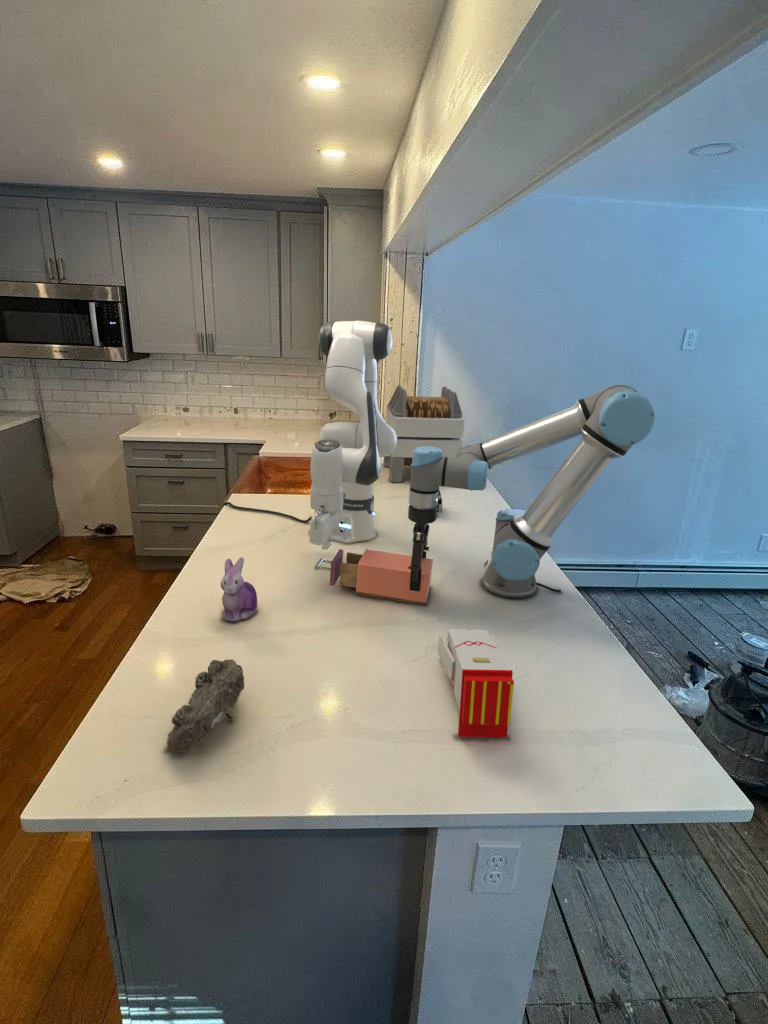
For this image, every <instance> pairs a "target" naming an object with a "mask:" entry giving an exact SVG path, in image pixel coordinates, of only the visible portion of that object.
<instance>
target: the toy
mask: <svg viewBox="0 0 768 1024" xmlns="http://www.w3.org/2000/svg"><path fill="white" fill-rule="evenodd" d="M446 640H447V643H446V641H445V639H444V636H443V635H442V634H439V637H438V646H437V656H438V657H439V659H440V661H441V663H442V666H443V668H444V670H445V672H446V674H447V677H448V679H449V681H450V684H451V687H452V690H453V693H454V697H455V701H456V705H457V708H458V711H459V714H458V715H459V716H458V730H457V731H458V732H457V737H458V738H508V731H509V726H510V725H511V717H512V707H513V697H514V696H513V695H514V684H515V680H514V679H513V673H514V671H513V670H512V669H508V667H507V665H506V662H505V661H504V659H503V658H502V655H501V653H500V651H499V649H498V647H497V643H496V639H495V637H494V635H493V634H491V632H490V631H489V629H467V628H466V629H465V628H463V629H461V628H460V629H459V628H448V630H447V639H446Z"/></svg>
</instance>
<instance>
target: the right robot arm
mask: <svg viewBox="0 0 768 1024" xmlns="http://www.w3.org/2000/svg"><path fill="white" fill-rule="evenodd" d="M655 418H656V416H655V410H654V407H653V405H652V403H651V401H650V400H649V398H648V397H647V396H646V395H644V394H643V393H642V392H640V391H638V390H636V389H635V388H633V387H631V386H629V385H626V384H625V385H624V384H615V385H611V386H607V387H606V388H603V389H600V390H598V391H597V392H594V393H592V394H590V395H588V396H585V397H583V398H581V399H578V400H576V401H575V403H574V405H573V406H571V407H569V408H566V409H563V410H561V411H558V412H556V413H553V414H550V415H548V416H545V417H542V418H540V419H538V420H535V421H532V422H530V423H528V424H525V425H523V426H520V427H518V428H515V429H512V430H510V431H507V432H504V433H501V434H500V435H497V436H495V437H492V438H489V439H487V440H485V441H482V442H480V443H476V444H474V445H473V444H470V445H469V444H468V445H465V446H462V449H461V450H460V451H459V452H458V453H457V455H456V458H448V457H443V455H442V450H441V449H439V448H437V447H432V446H420V447H417V448H416V449H415V450H414V451H413V458H412V464H411V466H410V483H409V484H410V486H409V495H408V504H409V505H408V513H407V518H408V520H409V521H411V522H413V523H414V526H413V528H412V533H413V534H412V535H413V536H412V542H413V543H412V552H411V556H412V560H411V566H409V567H408V569H411V577H410V590H412V591H419V592H420V583H421V570H422V568H421V563H422V558H427V551H428V552H429V551H430V547H429V546H428V544H429V543H428V539H429V538H428V537H429V532H430V524H433V523H435V522H436V521H437V518H438V517H437V513H438V512H437V507H436V506H437V504H438V499H439V498H442V495H441V496H440V495H438V491H440V487H443V488H452V489H460V490H468V491H484V490H485V489H486V487H487V483H488V475H489V470H490V469H493V468H497V467H498V466H501V465H503V464H507V463H509V462H512V461H515V460H517V459H520V458H523V457H526V456H528V455H531V454H533V453H536V452H539V451H542V450H544V449H547V448H550V447H552V446H555V445H558V444H561V443H564V442H566V441H569V440H571V439H574V438H577V437H581V439H580V440H579V441H578V443H577V444H576V445H575V447H574V448H573V449H572V450H571V452H570V453H569V454H568V456H567V457H566V459H565V460H564V461H563V462H562V463H561V465H560V467H559V468H558V469H557V470H556V471H555V472H554V474H553V475H552V477H551V478H550V480H549V481H548V482H547V483H546V485H545V486H544V487H543V488H542V490H541V491H540V492H539V494H538V495H537V496H536V498H535V499H534V500H533V502H532V503H531V505H529V507H528V508H527V509H526V510H523V509H514V508H506V509H500V510H499V511H498V512H497V514H496V518H495V527H494V536H493V545H492V551H491V553H490V554H491V555H490V557H491V560H490V562H489V559H487V560H486V561H485V562H484V564H483V568H485V567H486V566H487V567H486V570H485V572H484V574H483V575H482V576H483V577H482V585H483V587H484V588H485V589H486V591H488V592H489V593H492V594H494V595H496V596H499V597H502V598H508V599H525V598H529V597H531V596H533V595H534V594H535V593H536V592H537V587H541V588H544V589H546V590H548V591H551V592H553V593H554V592H555V593H562V589H557V588H553V587H550V586H548V585H545V584H543V583H539V582H537V578H536V573H537V572H538V570H539V568H540V564H541V559H542V558H543V557H544V555H545V554H546V553H547V552H548V550H549V549H550V548H551V547H552V545H553V540H552V535H553V534H554V533H555V532H556V531H557V529H559V527H560V525H561V524H562V523H563V522H564V520H565V519H566V518H567V517H568V516H569V514H570V513H571V512H572V511H573V509H574V508H575V507H576V505H577V504H578V503H579V502H580V501H581V500H582V498H583V497H584V495H585V494H586V493H587V492H588V491H589V489H590V488H591V487H592V486H593V485H594V483H596V481H597V480H598V478H599V477H600V475H601V474H602V473H603V472H604V471H605V469H606V468H607V467H608V466H609V464H611V462H612V461H613V460H615V459H620V458H623V457H625V455H626V454H627V453H628V452H629V450H630V449H631V448H632V447H633V446H634V445H637V444H639V443H641V442H642V441H644V440H645V439H646V438H647V437H648V436H649V434H650V433H651V432H652V429H653V428H654V424H655V420H656V419H655Z"/></svg>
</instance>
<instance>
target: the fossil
mask: <svg viewBox="0 0 768 1024" xmlns="http://www.w3.org/2000/svg"><path fill="white" fill-rule="evenodd" d="M243 670H244V669H243V667H242V665H240V664H237V662H236V661H235V660H234V659H232V658H231V659H227V658H226V659H224V660H223V661H222V660H217V659H212V660H211V661H210V663H209V665H208V666H207V671H201V672H199V673H198V674H197V675H196V676H195V680H194V684H195V685H194V687H195V689H194V690H193V693H192V694H191V697H190V698H189V700H188V704H184V705H182V706H181V707H180V709H177V710H176V711H175V713H174V715H173V716H172V718H171V723H172V724H173V727H172V730H171V731H170V732H168V734H167V738H166V741H167V742H166V745H167V749H168V750H169V751H173V752H174V753H176V754H178V753H182V752H188V751H189V752H192V751H193V750H195V748H196V747H197V746H199V744H200V743H201V742H203V741H204V740H205V739H206V738H207V737H208V736H209V735H210V734H211V733H212V732H214V730H215V729H217V727H218V726H219V724H220V722H221V721H222V720H223V719H224V718H225V716H226V717H227V719H229V720H233V717H232V715H230V714H229V710H230V709H231V708H234V706H235V704H236V703H237V702H238V699H239V697H240V695H241V693H242V691H243V690H245V689H244V688H245V675H244V671H243Z"/></svg>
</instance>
